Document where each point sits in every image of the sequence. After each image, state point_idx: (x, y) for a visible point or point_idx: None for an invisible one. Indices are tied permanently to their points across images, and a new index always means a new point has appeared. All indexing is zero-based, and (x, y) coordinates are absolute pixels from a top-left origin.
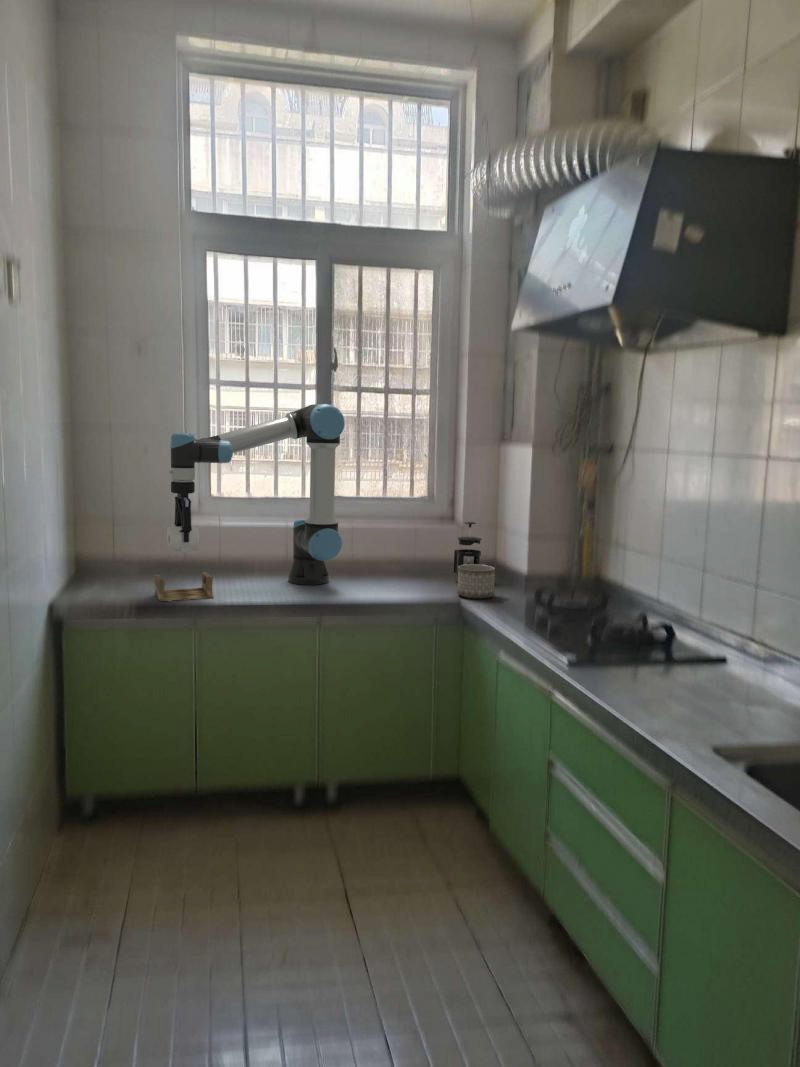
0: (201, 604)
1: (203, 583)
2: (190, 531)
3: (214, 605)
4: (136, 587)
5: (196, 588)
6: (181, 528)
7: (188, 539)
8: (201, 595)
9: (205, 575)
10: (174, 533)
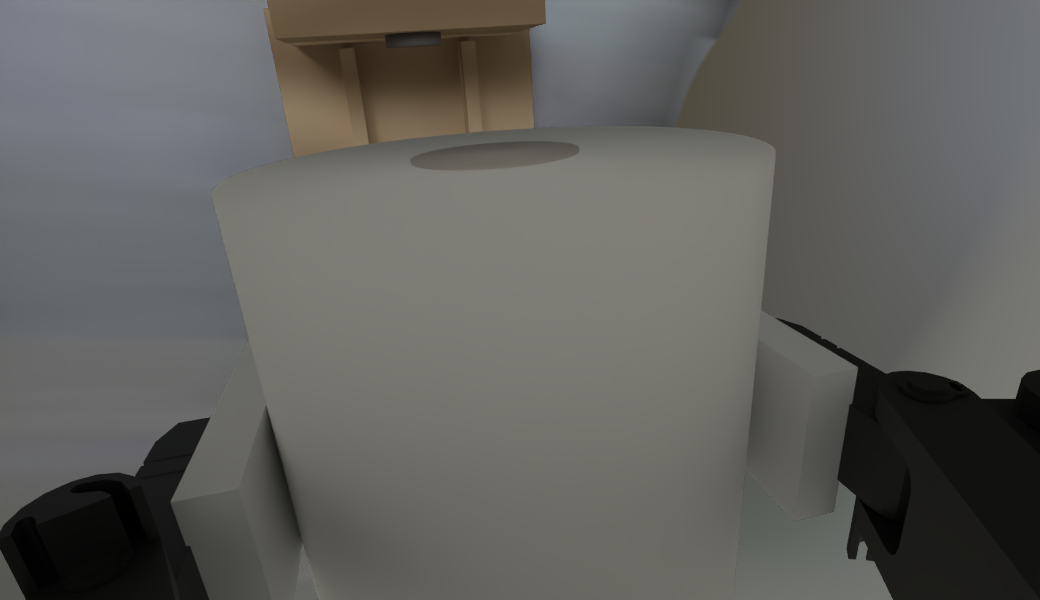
0: (669, 111)
1: (356, 40)
2: (754, 353)
3: (720, 32)
4: (62, 483)
5: (359, 102)
6: (699, 566)
7: (814, 337)
8: (490, 82)
9: (447, 29)
10: (732, 595)
